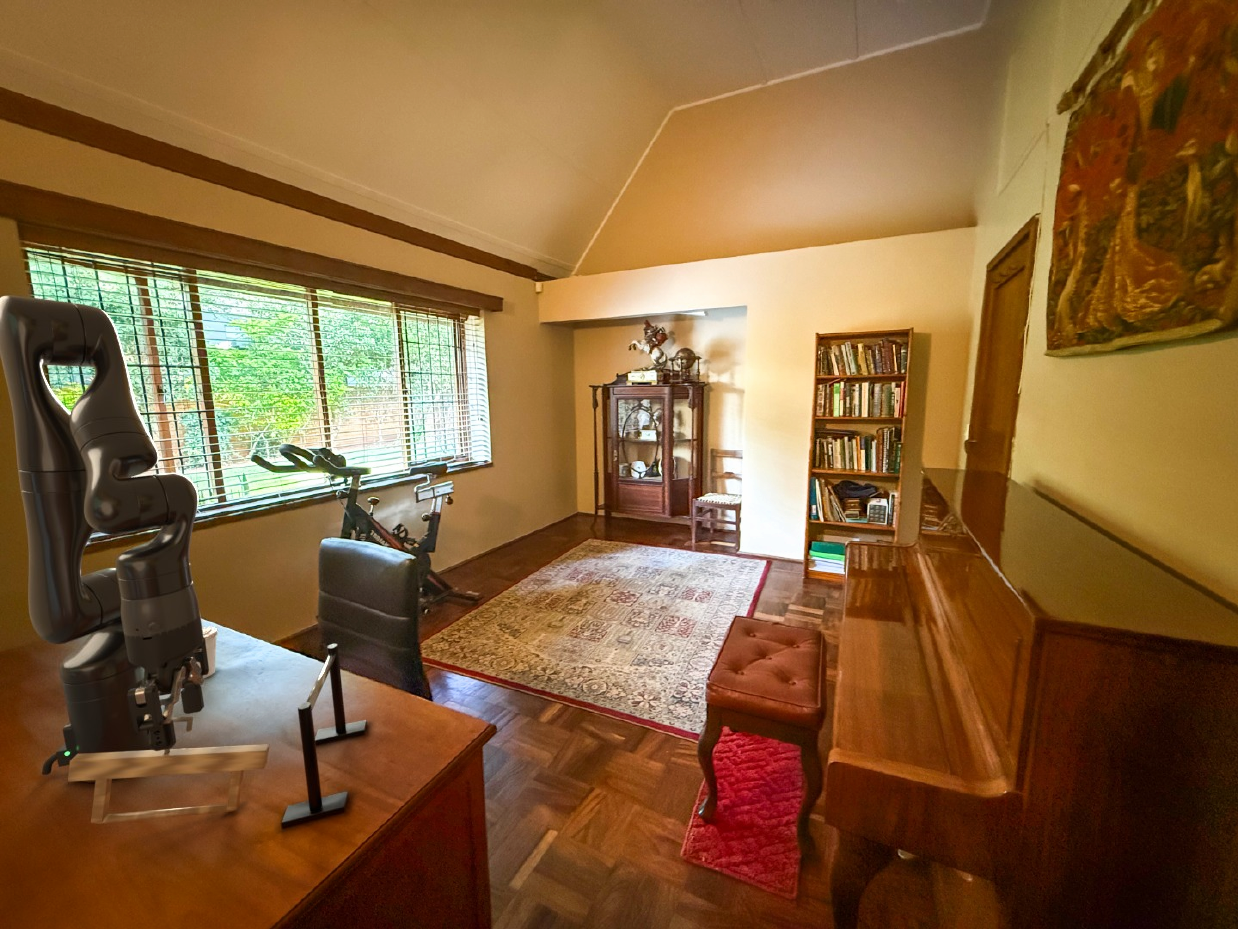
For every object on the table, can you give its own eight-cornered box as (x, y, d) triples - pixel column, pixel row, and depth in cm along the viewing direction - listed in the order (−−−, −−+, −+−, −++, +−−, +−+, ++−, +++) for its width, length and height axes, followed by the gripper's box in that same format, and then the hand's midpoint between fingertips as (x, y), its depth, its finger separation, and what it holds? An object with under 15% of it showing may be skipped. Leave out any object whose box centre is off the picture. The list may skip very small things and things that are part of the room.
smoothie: (227, 671, 105) (219, 613, 103) (190, 686, 100) (181, 625, 98) (216, 663, 109) (208, 606, 106) (180, 677, 103) (170, 617, 101)
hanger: (62, 830, 63) (73, 724, 62) (69, 821, 64) (81, 717, 63) (257, 812, 71) (271, 717, 70) (261, 804, 72) (274, 711, 71)
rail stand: (281, 829, 67) (267, 718, 65) (318, 734, 86) (308, 645, 83) (344, 812, 70) (333, 705, 67) (367, 724, 88) (359, 638, 86)
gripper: (158, 602, 69) (175, 703, 72) (88, 652, 56) (111, 774, 58) (220, 595, 72) (234, 693, 74) (167, 641, 58) (186, 759, 61)
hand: (180, 728), depth 66 cm, fingers open, 7 cm apart
